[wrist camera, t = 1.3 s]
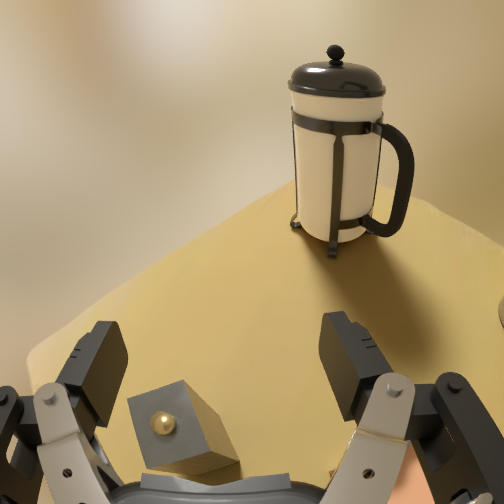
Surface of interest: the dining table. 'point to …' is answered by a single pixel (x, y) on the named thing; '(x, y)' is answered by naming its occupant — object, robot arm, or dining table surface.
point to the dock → (409, 481)
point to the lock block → (180, 431)
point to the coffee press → (343, 151)
